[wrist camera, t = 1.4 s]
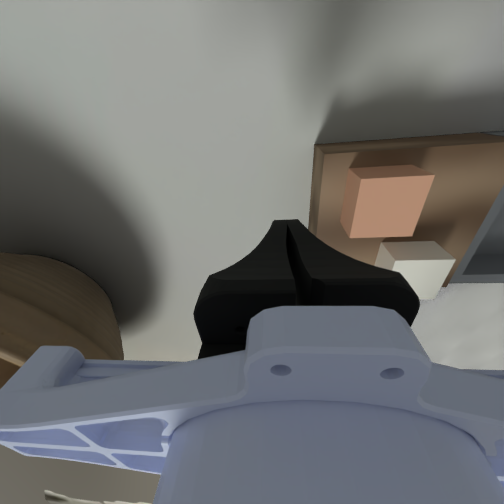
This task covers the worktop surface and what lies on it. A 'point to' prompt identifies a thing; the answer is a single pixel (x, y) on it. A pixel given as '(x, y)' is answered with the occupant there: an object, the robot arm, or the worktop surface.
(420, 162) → the walnut board
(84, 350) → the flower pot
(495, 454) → the robot arm
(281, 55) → the worktop surface
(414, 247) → the cream block
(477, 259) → the charcoal tray
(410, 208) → the terracotta block
